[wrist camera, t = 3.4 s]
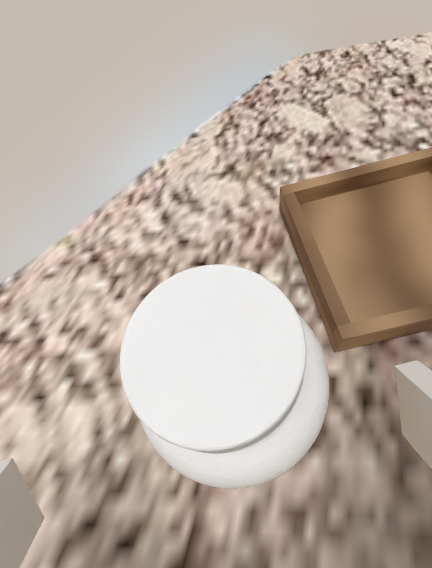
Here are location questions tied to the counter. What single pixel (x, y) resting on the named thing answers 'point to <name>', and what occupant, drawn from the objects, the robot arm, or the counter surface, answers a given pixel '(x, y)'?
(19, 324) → the counter surface
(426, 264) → the walnut tray
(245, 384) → the supplement bottle
